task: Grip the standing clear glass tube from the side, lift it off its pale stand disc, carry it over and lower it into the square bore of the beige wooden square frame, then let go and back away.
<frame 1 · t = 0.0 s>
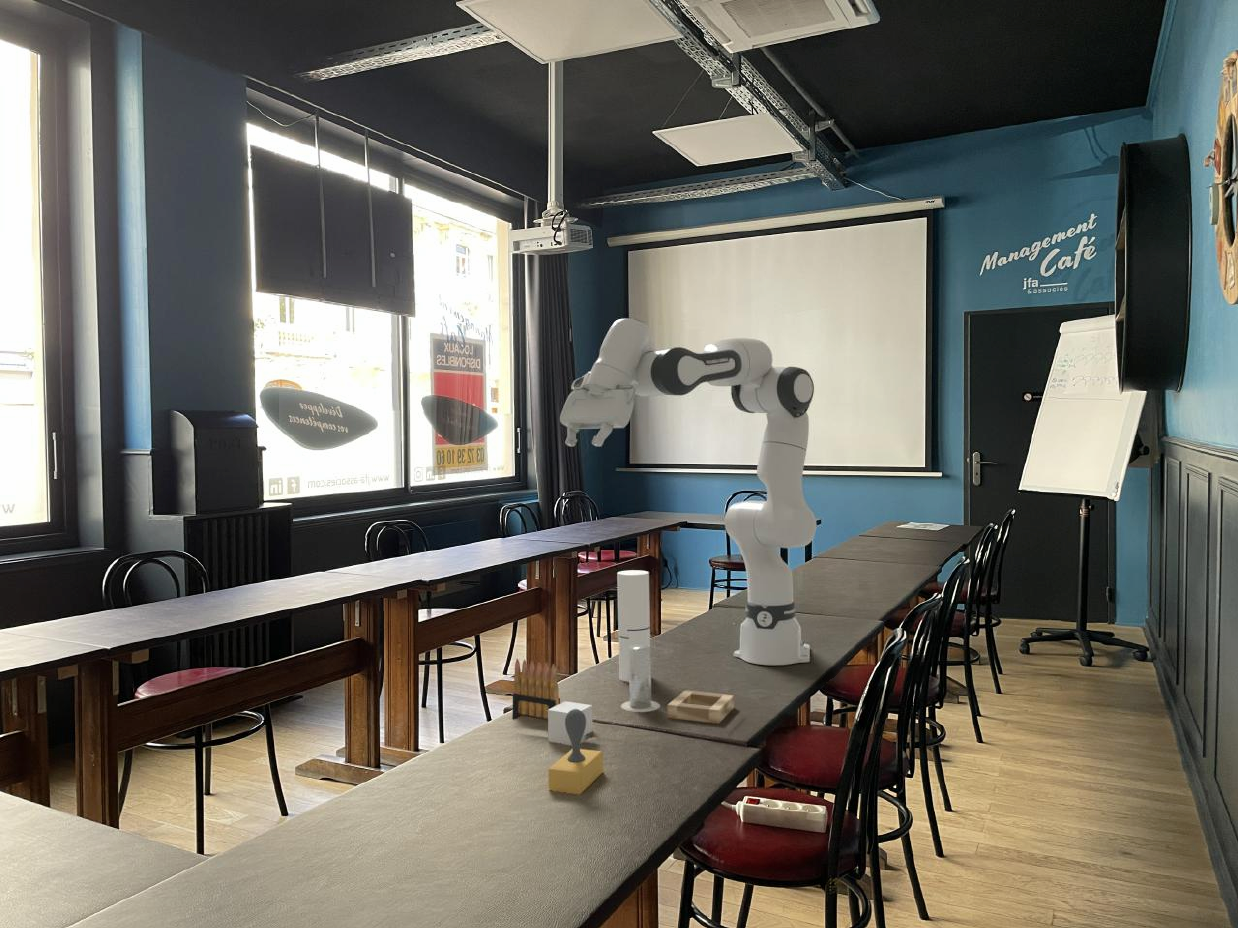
hand: (582, 445, 188), 54 cm above the table, tool tilted 30°, fingers open, 8 cm apart
light grey cube: (570, 740, 170), on the table
ammunition clip: (536, 722, 180), on the table
rubber stamp: (576, 782, 149), on the table
clear glass tube: (640, 705, 186), point 1 cm above the table, touching stand disc
beige wooden square frame: (701, 717, 180), on the table
stand disc: (640, 710, 186), on the table
cylindrical container: (635, 682, 207), on the table
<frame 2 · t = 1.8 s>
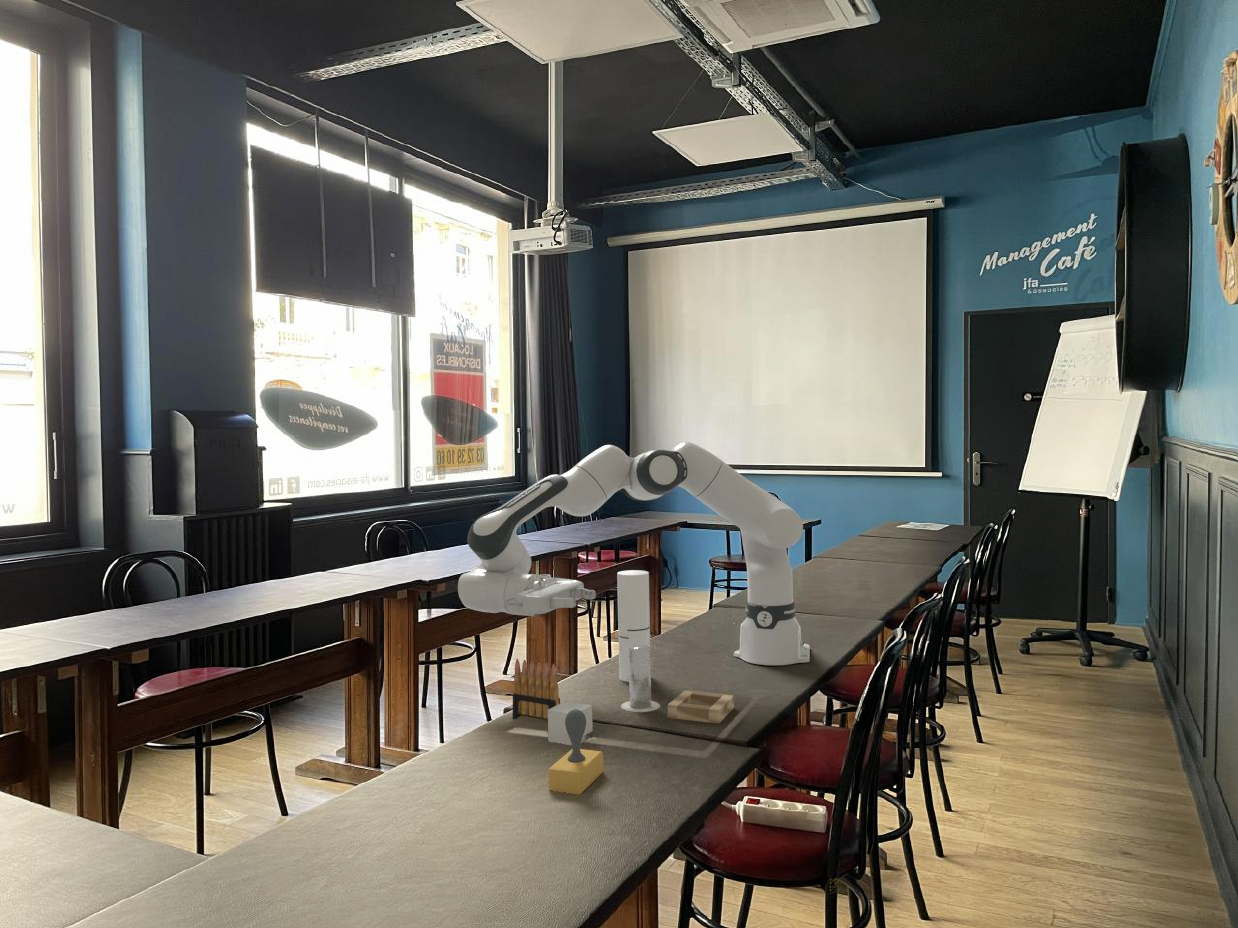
hand: (584, 598, 189), 22 cm above the table, tool horizontal, fingers open, 8 cm apart
nothing on the table moved.
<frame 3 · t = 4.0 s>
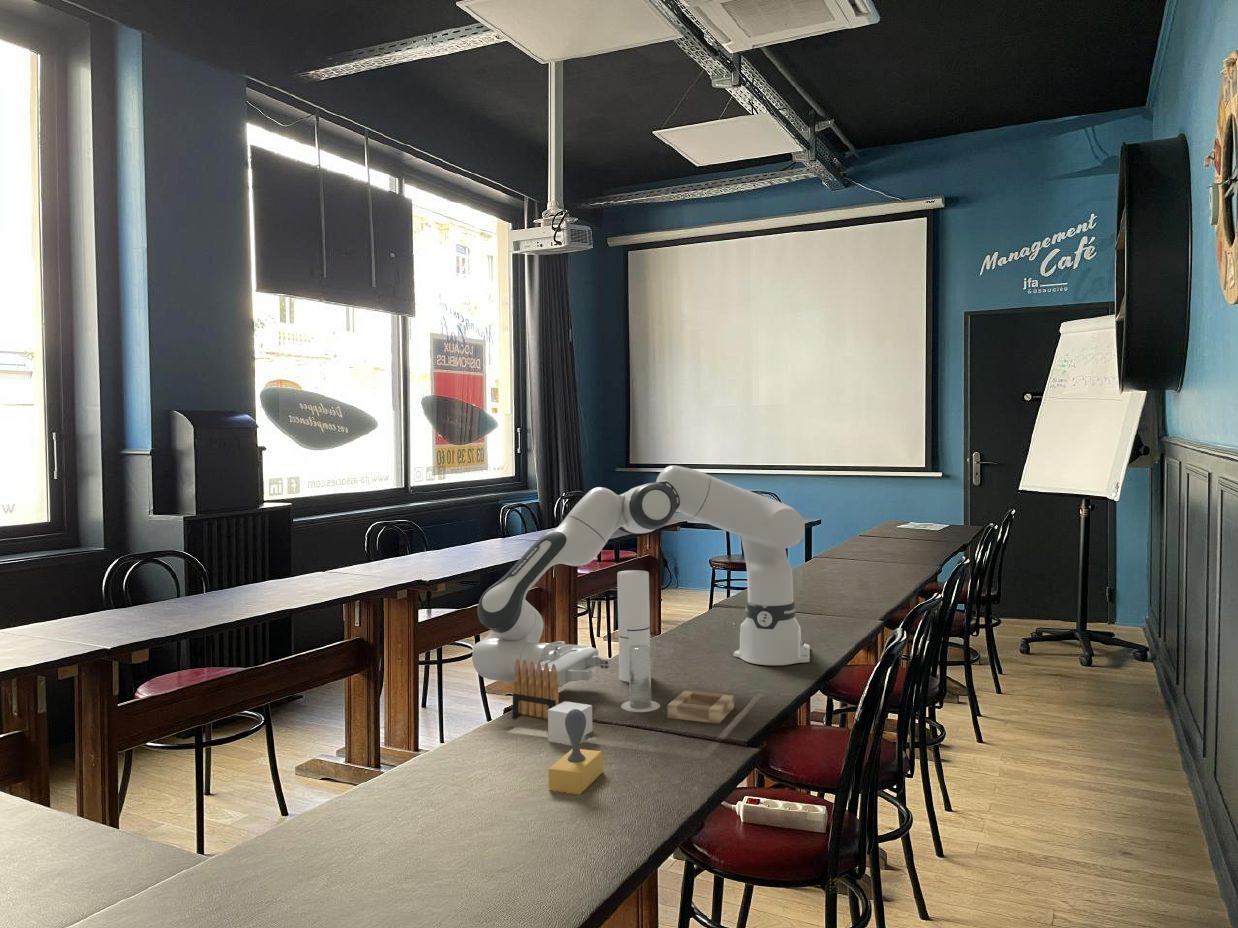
hand: (600, 669, 189), 8 cm above the table, tool horizontal, fingers open, 8 cm apart
nothing on the table moved.
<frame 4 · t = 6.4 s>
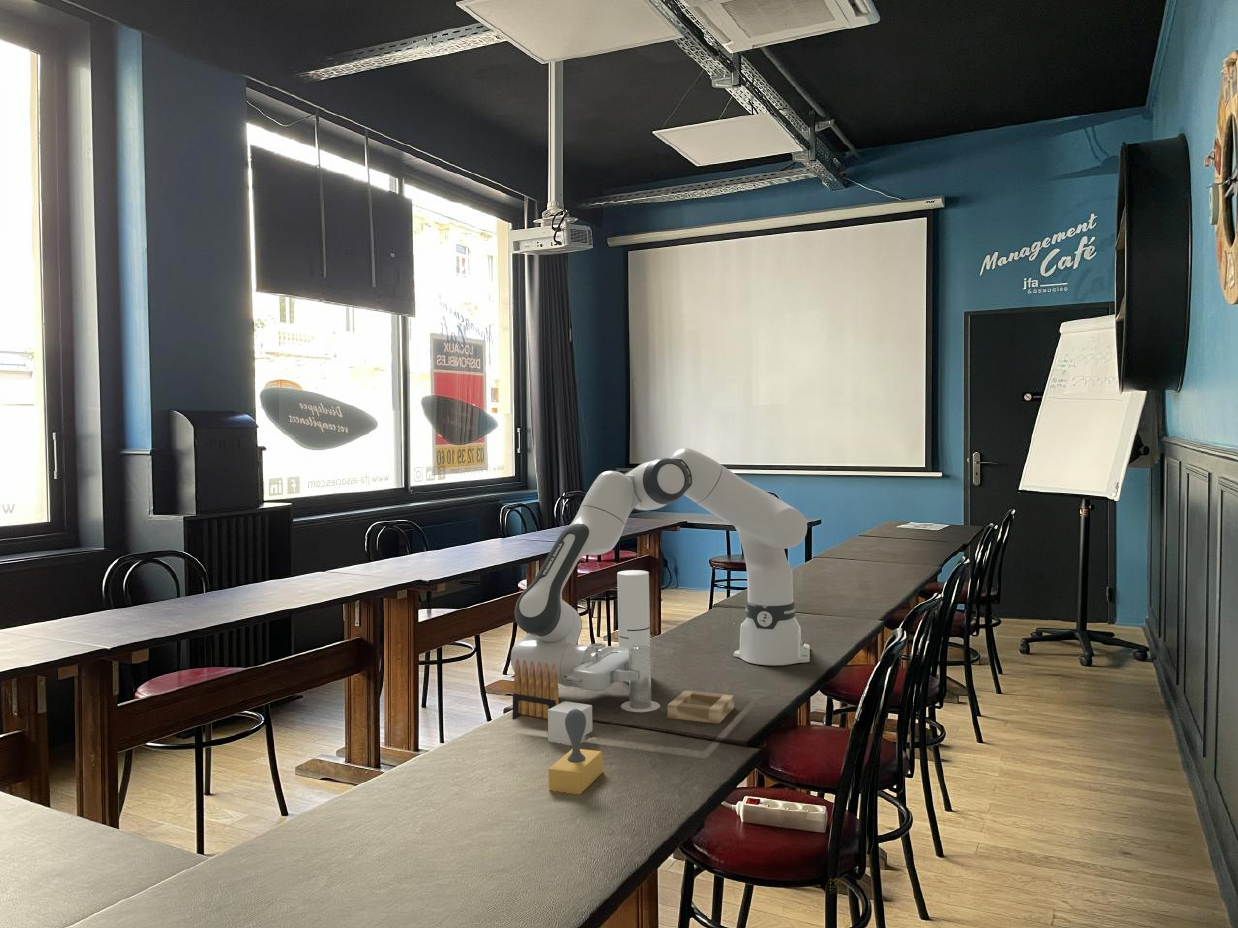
hand: (643, 672, 185), 8 cm above the table, tool horizontal, fingers closed on clear glass tube, 4 cm apart
clear glass tube: (640, 705, 186), point 1 cm above the table, touching gripper, stand disc
everything else where it was.
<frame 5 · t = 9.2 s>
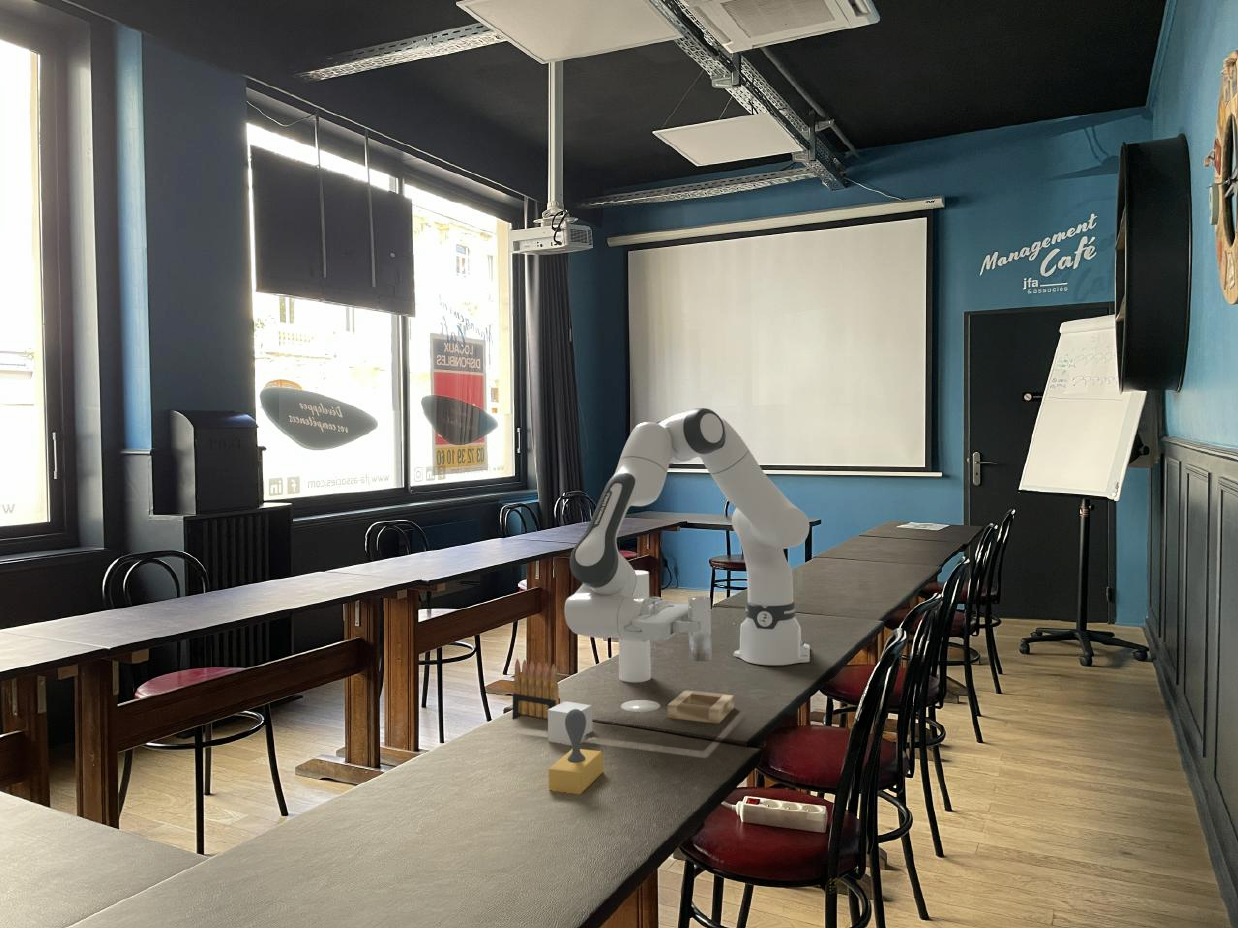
hand: (704, 623, 179), 19 cm above the table, tool horizontal, fingers closed on clear glass tube, 4 cm apart
clear glass tube: (700, 658, 180), point 12 cm above the table, touching gripper
everything else where it was.
when the fingers open (8 cm above the table, at t = 11.9 s): clear glass tube stays where it is, resting on beige wooden square frame.
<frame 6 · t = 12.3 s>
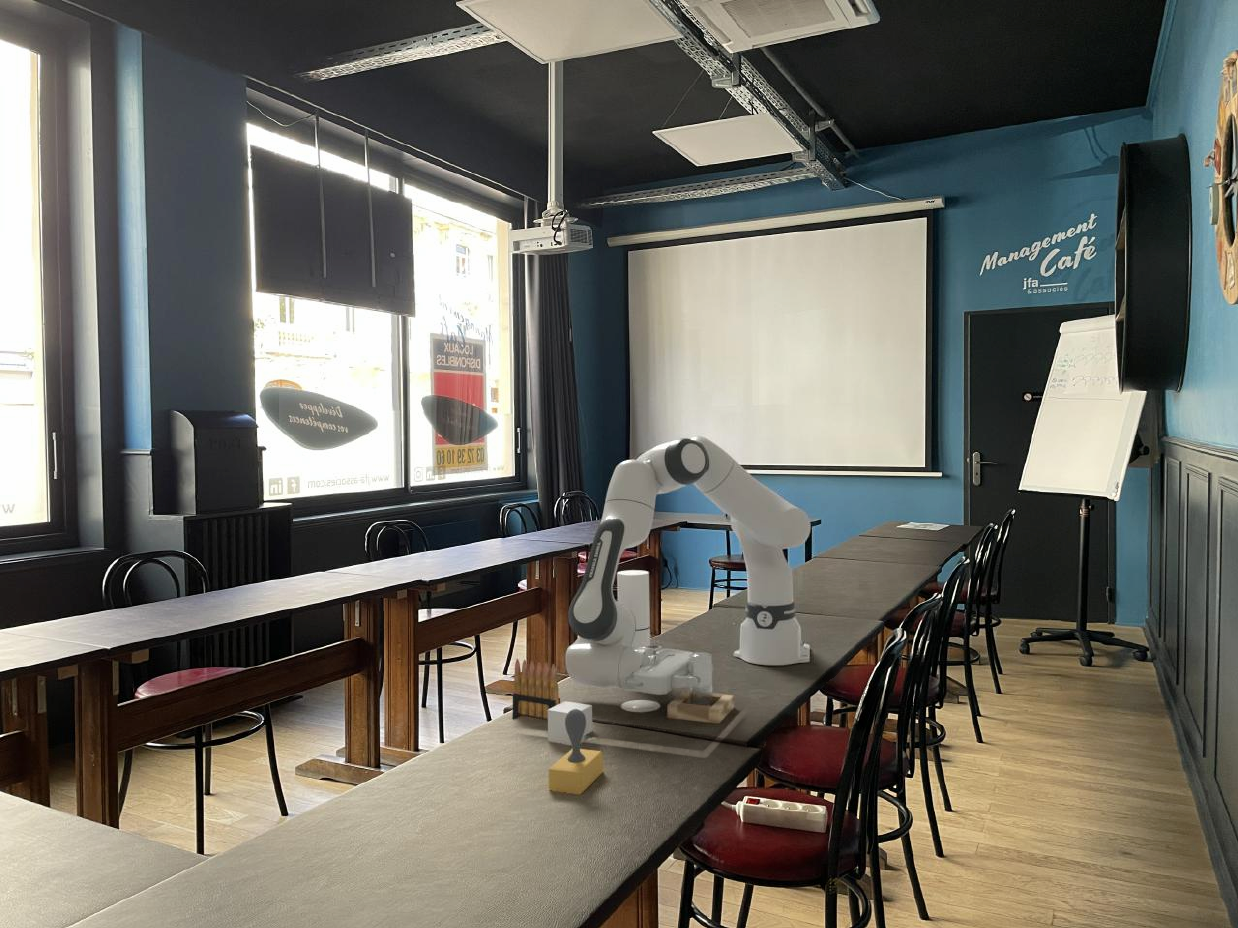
hand: (704, 675, 180), 8 cm above the table, tool horizontal, fingers open, 8 cm apart
clear glass tube: (701, 714, 181), resting on beige wooden square frame
everything else where it was.
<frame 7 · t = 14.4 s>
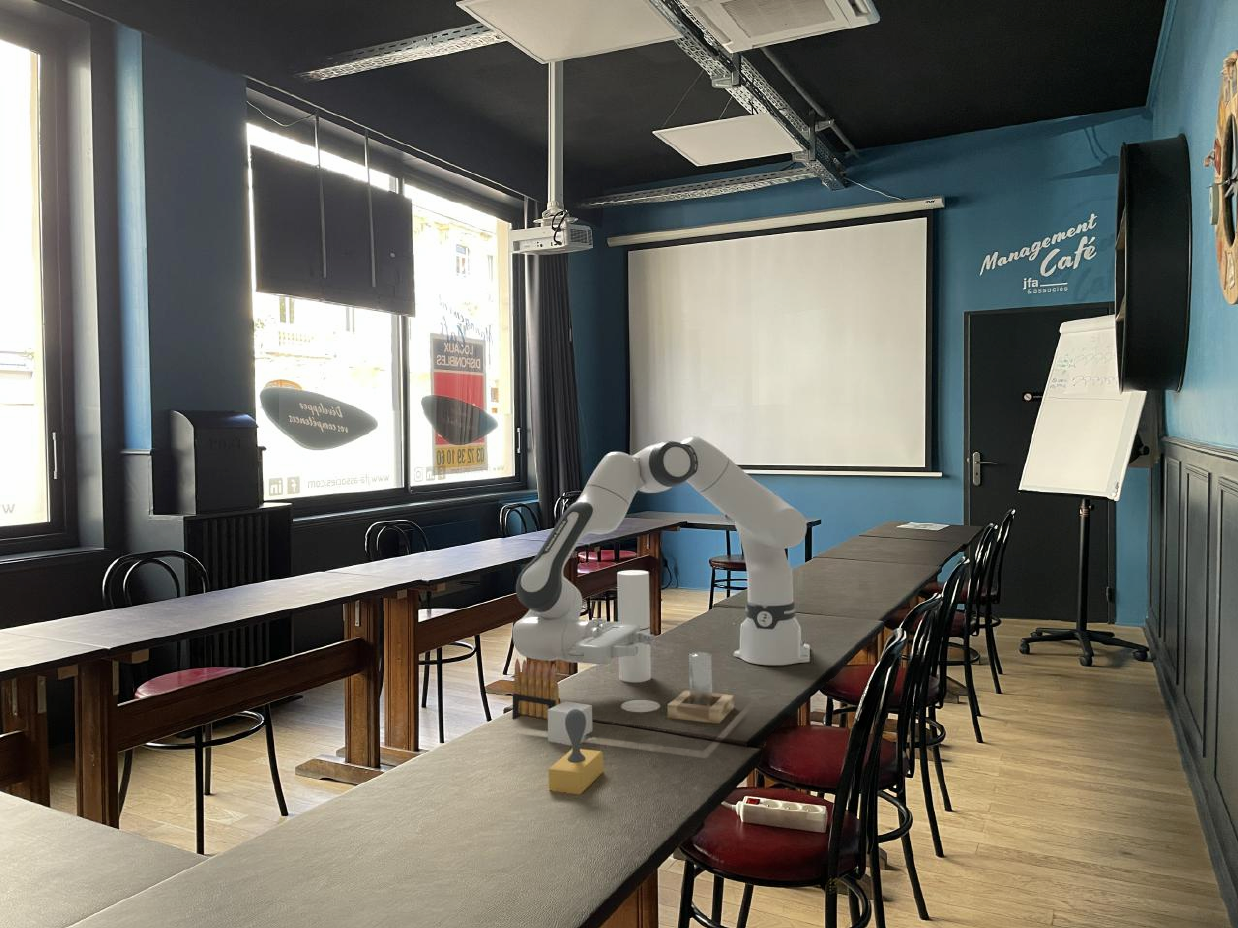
hand: (645, 645, 186), 13 cm above the table, tool horizontal, fingers open, 8 cm apart
nothing on the table moved.
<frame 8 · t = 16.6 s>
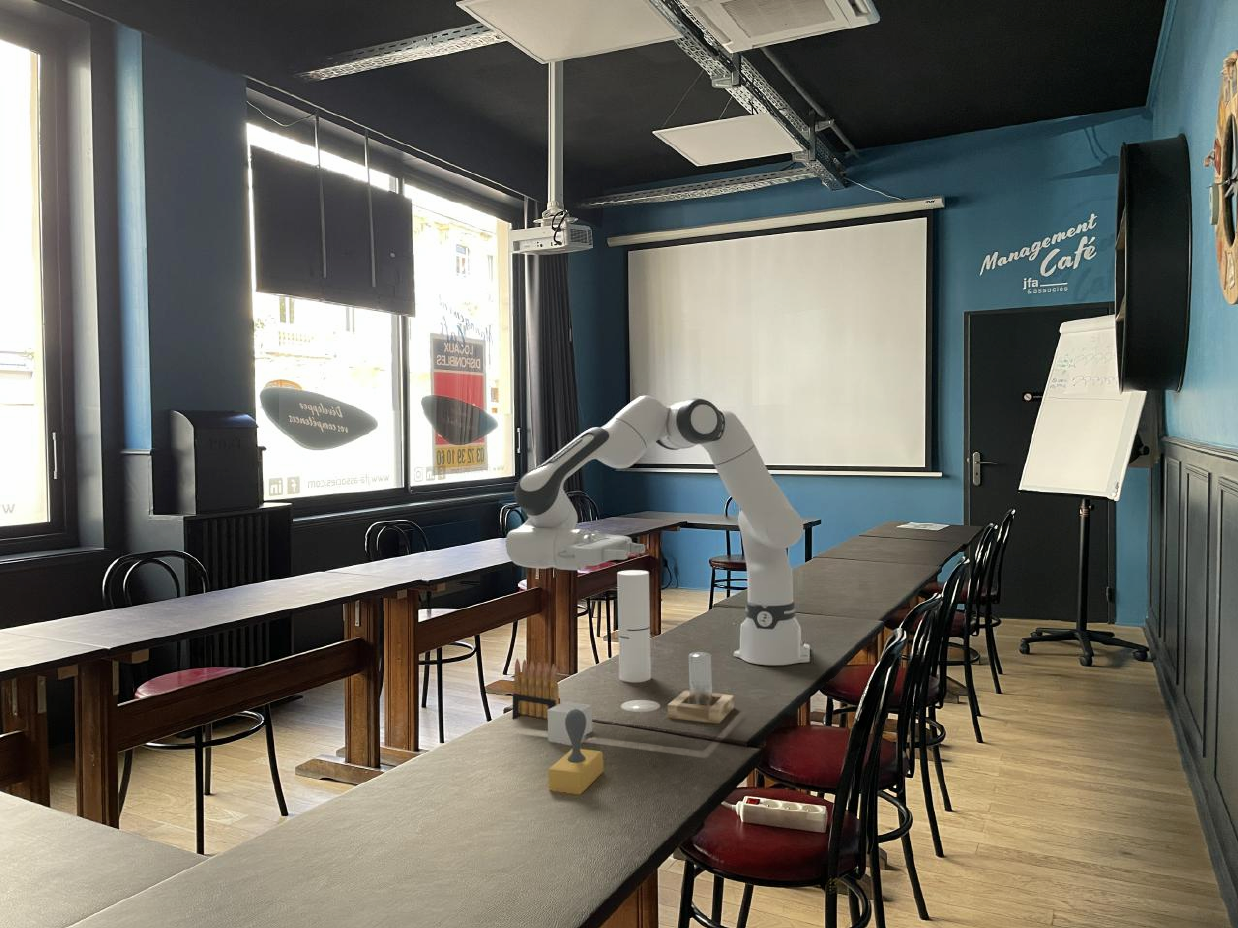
hand: (635, 551, 189), 32 cm above the table, tool horizontal, fingers open, 8 cm apart
nothing on the table moved.
at the end: clear glass tube 0.1 cm off-centre on the beige wooden square frame, point 0.5 cm above the beige wooden square frame's base; clear glass tube tilted 1°; the gripper is holding nothing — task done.
